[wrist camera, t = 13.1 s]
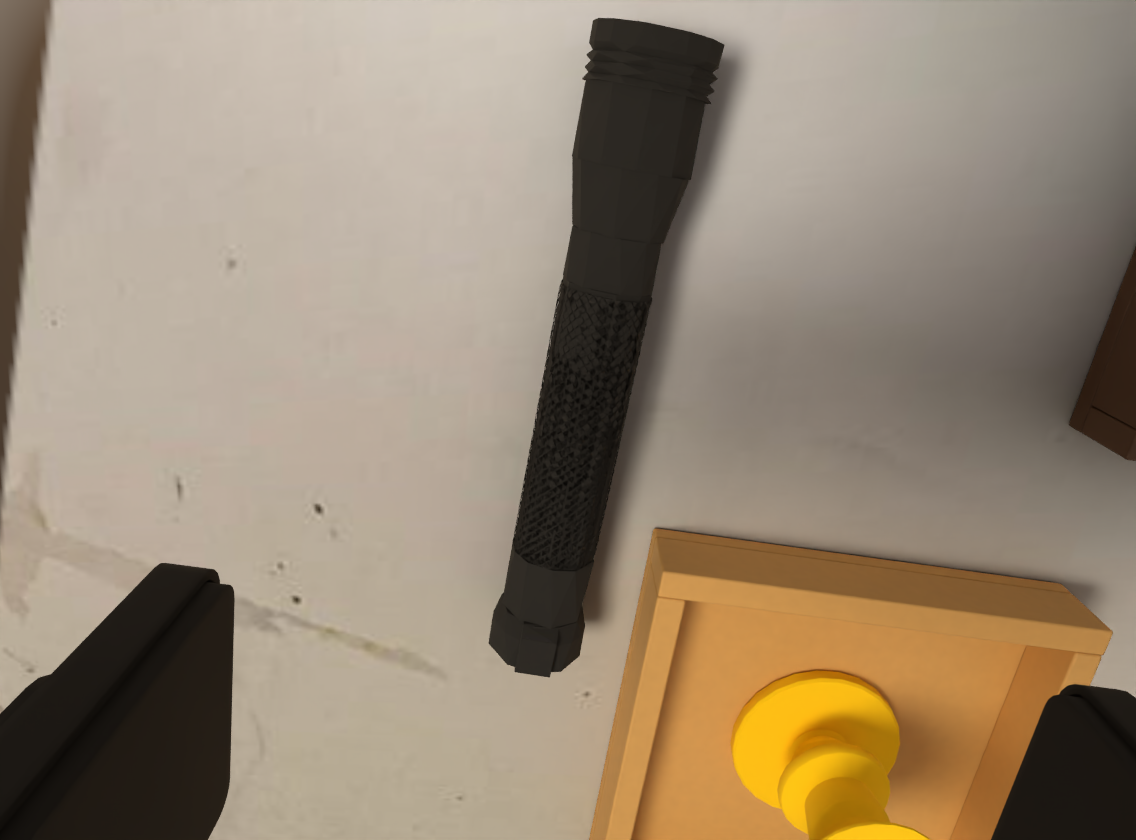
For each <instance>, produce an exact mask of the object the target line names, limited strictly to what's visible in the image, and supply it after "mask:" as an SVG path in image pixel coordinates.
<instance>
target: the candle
mask: <svg viewBox="0 0 1136 840" xmlns="http://www.w3.org/2000/svg"><path fill="white" fill-rule="evenodd" d="M730 745H731V751H732V758H733V763H734V767H735V770H736V772H737V774H738V776H739V777H740V779H741V781H742V783H743V785H744V786H745V787H746V788H747V789H748V790H749V791H750V792H751V793H752V794H753V795H754V796H755V797H756V798H758V799H760V800H762V801H763V802H765V803H767V804H769V805H770V806H772V807H775V808H779V809H782V811H783V813H784V815H785V817H786V819H787V820H788V821H789V822H790V823H791V824H792V825H793V826H794V827H796V828H797V829H799V830H801V831H803V832H804V833H806V834H808V835H809V840H930V839H929V838H928V837H927V836H925V835H924V834H922V833H920V832H919V831H917V830H915V829H913V828H911V827H907V826H904V825H900V824H897V823H891V822H890V820H889V818H888V815H887V813H886V812H885V810H884V809H885V807H886V806H887V803H888V799H889V796H890V781H889V779H888V777H887V775H888V773H889V772H890V770H891V768H892V767H893V765H894V763H895V762H896V758H897V754H898V750H899V746H900V735H899V726H898V723H897V721H896V719H895V716H894V714H893V711H892V709H891V708H890V706H889V704H888V702H887V701H886V700H885V699H884V698H883V697H882V695H881V694H880V693H879V692H878V691H877V690H876V689H875V688H874V687H872V686H871V685H869V684H867V683H866V682H864V681H863V680H861V679H859V678H857V677H854V676H851V675H847V674H844V673H841V672H834V671H818V670H816V671H810V672H803V673H797V674H793V675H790V676H788V677H785V678H782V679H780V680H777V681H775V682H773V683H771V684H770V685H768V686H767V687H765V688H764V689H762V690H761V691H759V692H758V693H756V694H755V695H754V696H753V697H752V698H751V700H750V701H749V702H748V703H747V704H746V705H745V706H744V707H743V708H742V710H741V712H740V714H739V716H738V718H737V720H736V722H735V724H734V726H733V731H732V736H731V742H730Z"/></svg>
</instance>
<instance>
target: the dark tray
mask: <svg viewBox="0 0 1136 840" xmlns="http://www.w3.org/2000/svg"><path fill="white" fill-rule="evenodd" d="M1069 425H1070V426H1071V427H1073V428H1074V429H1076V430H1078V431H1079V432H1082V433H1083V434H1085V435H1086V436H1088V437H1090V438H1091V439H1093V440H1095V441H1096V442H1098V443H1100V444H1101V445H1103V446H1105V447H1106V448H1108V449H1110V450H1111V451H1113V452H1115V453H1116V454H1118V455H1120V456H1122V457H1123V458H1125V459H1127V460H1133V461H1136V247H1135V250H1134V253H1133V255H1132V258H1131V261H1130V263H1129V266H1128V269H1127V271H1126V274H1125V276H1124V279H1123V282H1122V284H1121V287H1120V290H1119V292H1118V295H1117V298H1116V300H1115V303H1114V306H1113V308H1112V311H1111V314H1110V316H1109V319H1108V322H1107V324H1106V327H1105V330H1104V332H1103V335H1102V338H1101V340H1100V343H1099V346H1098V348H1097V351H1096V354H1095V356H1094V359H1093V362H1092V364H1091V367H1090V370H1089V372H1088V375H1087V378H1086V380H1085V383H1084V386H1083V388H1082V391H1081V394H1080V396H1079V399H1078V402H1077V404H1076V407H1075V410H1074V412H1073V415H1072V418H1071V420H1070V423H1069Z"/></svg>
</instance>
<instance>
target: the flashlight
mask: <svg viewBox="0 0 1136 840" xmlns="http://www.w3.org/2000/svg"><path fill="white" fill-rule="evenodd" d="M589 43H590V45H591V47H592V48H593V50H592V51H590V52H589V53H588V54H587V56H588V57H589V58H590V60H591V61H590V62H589V63H588V64H587V65H586V66H585V68H586V69H587V71H588V73H587V74H586V75H585V76H584V78H583V79H584V80H586V82H585V88H584V93H583V99H582V104H581V110H580V115H579V121H578V126H577V132H576V137H575V143H574V148H573V154H572V156H573V193H572V224H573V226H572V231H571V237H570V242H569V247H568V252H567V257H566V262H565V268H564V273H563V280H562V282H561V285H562V286H561V285H560V287H561V288H560V291H561V293H560V292H559V293H560V297H559V298H558V299H557V303H556V305H557V304H558V306H556V307H557V309H555V312H557V314H556V313H555V314H554V318H555V322H554V321H553V326H554V327H553V326H552V331H551V336H552V337H551V336H550V340H551V341H550V342H551V346H550V343H549V347H550V348H549V347H548V352H547V357H548V355H549V357H548V359H547V360H546V364H545V367H546V371H544V375H543V378H544V379H542V385H541V387H542V389H541V391H540V396H539V397H540V398H541V399H539V403H538V405H539V407H538V408H539V410H538V408H537V413H536V414H537V417H536V418H537V422H536V418H535V423H534V424H535V427H534V428H535V430H533V431H534V432H533V437H532V439H533V441H532V440H531V445H532V448H531V445H530V450H529V454H530V455H529V456H530V459H529V457H528V461H527V462H528V465H527V466H528V467H527V469H528V470H526V471H527V474H526V472H525V477H524V481H525V482H523V483H525V484H523V485H524V486H523V488H524V491H522V493H523V494H522V493H521V498H522V501H520V505H519V507H520V509H519V510H520V511H519V516H518V517H519V518H518V517H517V520H518V521H516V524H517V525H515V526H517V527H516V529H515V531H516V534H515V532H514V536H515V537H514V539H513V544H512V550H511V556H510V561H509V567H508V572H507V578H506V584H505V589H504V593H503V594H502V595H501V597H500V599H499V602H498V604H497V606H496V608H495V610H494V613H493V619H492V625H491V632H490V638H489V644H490V645H491V647H492V648H493V649H494V650H495V651H496V652H497V653H498V654H499V656H500V657H501V658H502V659H503V660H504V661H505V662H506V663H507V665H511V666H514V667H515V672H518V673H525V674H531V675H538V676H544V677H550V674H551V672H561V671H562V670H563V669H564V668H566V667H567V666H568V665H569V664H570V663H571V662H573V661H574V660H575V659H576V658H577V657H578V656H579V655H580V650H581V644H582V639H583V633H584V628H585V623H584V615H583V608H582V603H583V599H584V595H585V592H586V588H587V585H588V581H589V578H590V574H591V570H592V567H593V563H594V560H593V558H594V555H595V552H596V551H595V549H597V548H596V546H597V543H598V542H597V541H599V540H598V539H599V535H600V533H599V531H600V530H601V526H602V524H601V522H602V521H603V518H602V517H604V512H605V509H606V506H607V505H606V503H607V500H608V497H607V496H608V494H609V491H610V485H611V482H612V476H613V473H614V467H615V464H616V459H617V456H618V455H617V454H618V452H617V450H618V448H619V445H620V441H621V437H620V436H622V435H621V434H622V431H623V428H622V427H624V422H625V419H624V418H626V415H627V414H626V413H627V410H626V409H628V406H629V405H628V404H629V398H630V395H631V390H632V386H633V383H632V382H634V376H635V373H636V367H637V364H638V358H639V355H640V349H641V346H642V342H641V341H642V340H643V336H644V333H643V332H645V327H646V320H647V318H648V313H649V308H650V305H651V302H652V297H651V296H652V291H653V286H654V280H655V275H656V270H657V264H658V259H659V253H660V248H661V244H663V243H664V240H665V238H666V235H667V233H668V230H669V228H670V225H671V223H672V221H673V218H674V216H675V213H676V211H677V208H678V206H679V203H680V201H681V198H682V196H683V194H684V191H685V189H686V186H687V184H688V181H689V180H691V175H692V170H693V164H694V159H695V154H696V149H697V143H698V138H699V133H700V128H701V122H702V117H703V112H704V107H705V104H711V102H710V101H709V99H708V97H707V96H708V95H709V94H711V93H713V92H714V90H713V89H712V87H711V86H710V84H711V83H713V82H714V81H716V80H717V78H716V76H715V75H714V74H713V72H714V71H716V70H717V69H718V67H719V64H720V60H721V56H722V52H723V48H724V44H722V43H720V42H718V41H716V40H714V39H712V38H708V37H705V36H702V35H699V34H695V33H692V32H688V31H683V30H679V29H674V28H670V27H665V26H661V25H656V24H651V23H646V22H639V21H631V20H623V19H615V18H598V19H595V20H593V24H592V30H591V36H590V41H589ZM559 293H558V294H559ZM558 296H559V295H558ZM558 301H559V303H558ZM555 315H556V317H555ZM553 320H554V319H553ZM552 332H553V335H552ZM548 353H549V354H548ZM544 369H545V368H544ZM543 380H544V382H543ZM610 481H611V482H610ZM522 490H523V489H522ZM522 496H523V497H522ZM517 522H518V523H517ZM600 532H601V531H600Z"/></svg>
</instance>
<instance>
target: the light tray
mask: <svg viewBox="0 0 1136 840" xmlns="http://www.w3.org/2000/svg"><path fill="white" fill-rule="evenodd" d="M1112 634H1113V632H1112V630H1110V629H1109V628H1108V627H1107V626H1106V625H1105V624H1104V623H1103V622H1102V621H1101V620H1100V619H1099V618H1097V617H1096V616H1095V615H1094V614H1093V613H1092V612H1091V611H1090V610H1089V609H1088V608H1087V607H1086V606H1085V605H1083V604H1082V603H1081V602H1080V601H1079V600H1078V599H1077V598H1076V597H1075V596H1074V595H1072V594H1071V593H1070V592H1069V591H1068V590H1067V589H1066V588H1065V587H1064V586H1063V585H1062V584H1059V583H1052V582H1045V581H1037V580H1030V579H1023V578H1015V577H1008V576H1001V575H993V574H986V573H979V572H971V571H964V570H957V569H949V568H942V567H935V566H927V565H920V564H913V563H906V562H898V561H891V560H884V559H876V558H869V557H862V556H854V555H847V554H840V553H832V552H825V551H818V550H810V549H803V548H796V547H788V546H781V545H774V544H766V543H759V542H752V541H744V540H737V539H730V538H722V537H715V536H708V535H701V534H693V533H686V532H679V531H671V530H664V529H657V528H655V529H654V530H653V534H652V539H651V544H650V548H649V553H648V558H647V563H646V568H645V573H644V577H643V582H642V587H641V592H640V597H639V601H638V606H637V611H636V616H635V621H634V626H633V630H632V635H631V640H630V645H629V650H628V655H627V659H626V664H625V669H624V674H623V679H622V684H621V688H620V693H619V698H618V703H617V708H616V713H615V717H614V722H613V727H612V732H611V737H610V742H609V746H608V751H607V756H606V761H605V766H604V771H603V775H602V780H601V785H600V790H599V795H598V799H597V804H596V809H595V814H594V819H593V824H592V828H591V833H590V838H589V840H809V835H808V834H806V833H804V832H803V831H801V830H799V829H797V828H796V827H794V826H793V825H792V824H791V823H790V822H789V821H788V820H787V819H786V817H785V815H784V813H783V811H782V809H779V808H775V807H772V806H770V805H769V804H767V803H765V802H763V801H762V800H760V799H758V798H756V797H755V796H754V795H753V794H752V793H751V792H750V791H749V790H748V789H747V788H746V787H745V786H744V785H743V783H742V781H741V779H740V777H739V776H738V774H737V772H736V770H735V767H734V763H733V758H732V751H731V745H730V742H731V736H732V731H733V726H734V724H735V722H736V720H737V718H738V716H739V714H740V712H741V710H742V708H743V707H744V706H745V705H746V704H747V703H748V702H749V701H750V700H751V698H752V697H753V696H754V695H755V694H756V693H758V692H759V691H761V690H762V689H764V688H765V687H767V686H768V685H770V684H771V683H773V682H775V681H777V680H780V679H782V678H785V677H788V676H790V675H793V674H797V673H803V672H810V671H816V670H818V671H834V672H841V673H844V674H847V675H851V676H854V677H857V678H859V679H861V680H863V681H864V682H866V683H867V684H869V685H871V686H872V687H874V688H875V689H876V690H877V691H878V692H879V693H880V694H881V695H882V697H883V698H884V699H885V700H886V701H887V702H888V704H889V706H890V708H891V709H892V711H893V714H894V716H895V719H896V721H897V723H898V726H899V735H900V746H899V750H898V754H897V758H896V762H895V763H894V765H893V767H892V768H891V770H890V772H889V773H888V775H887V777H888V779H889V781H890V796H889V799H888V803H887V806H886V807H885V809H884V810H885V812H886V813H887V815H888V818H889V820H890V822H891V823H897V824H900V825H904V826H907V827H911V828H913V829H915V830H917V831H919V832H920V833H922V834H924V835H925V836H927V837H928V838H929V839H930V840H991V838H992V835H993V833H994V830H995V828H996V825H997V823H998V820H999V818H1000V815H1001V813H1002V810H1003V808H1004V806H1005V803H1006V801H1007V798H1008V796H1009V793H1010V791H1011V788H1012V786H1013V783H1014V781H1015V778H1016V776H1017V773H1018V771H1019V768H1020V766H1021V763H1022V761H1023V758H1024V756H1025V753H1026V751H1027V748H1028V746H1029V743H1030V741H1031V738H1032V736H1033V733H1034V731H1035V728H1036V726H1037V723H1038V721H1039V718H1040V716H1041V713H1042V711H1043V708H1044V706H1045V704H1046V702H1047V701H1048V699H1049V698H1051V697H1052V696H1054V695H1059V694H1060V692H1061V690H1063V689H1064V688H1065V687H1066V686H1068V685H1072V684H1079V685H1087V686H1090V684H1091V681H1092V679H1093V677H1094V674H1095V672H1096V670H1097V668H1098V665H1099V663H1100V661H1101V655H1103V654H1104V653H1105V650H1106V648H1107V646H1108V643H1109V641H1110V639H1111V636H1112Z"/></svg>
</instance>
